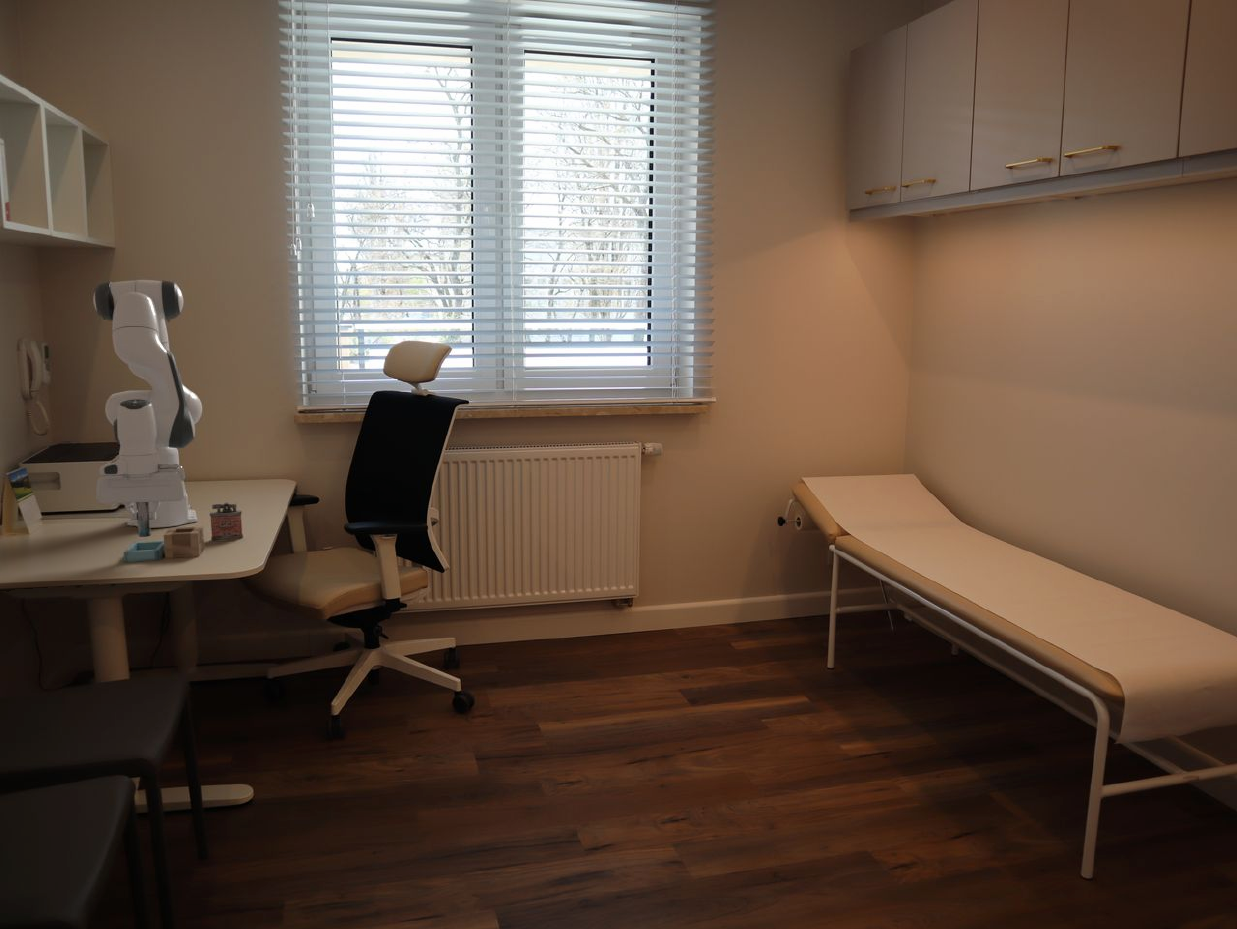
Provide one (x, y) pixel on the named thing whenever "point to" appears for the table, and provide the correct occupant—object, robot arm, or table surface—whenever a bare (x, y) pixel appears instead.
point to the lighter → (226, 522)
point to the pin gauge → (143, 519)
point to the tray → (145, 551)
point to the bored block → (184, 542)
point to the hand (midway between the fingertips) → (143, 519)
